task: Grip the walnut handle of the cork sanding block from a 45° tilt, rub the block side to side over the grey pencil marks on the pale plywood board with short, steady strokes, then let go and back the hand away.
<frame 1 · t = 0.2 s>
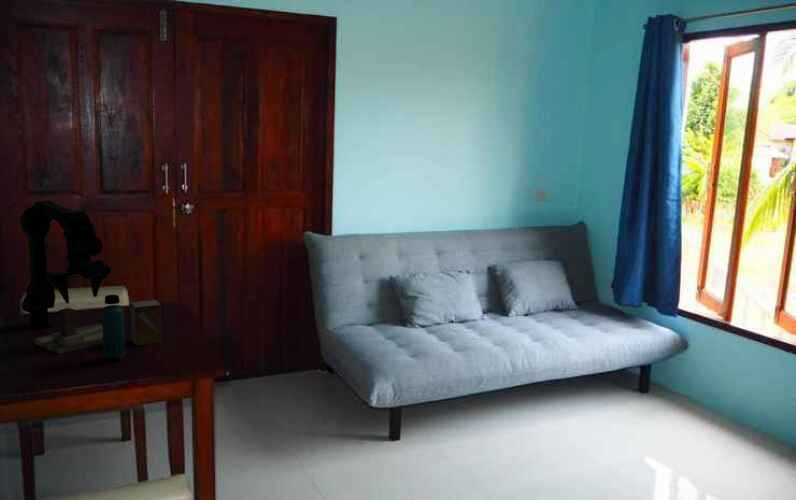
hand: (81, 300, 219), 15 cm above the table, tool pointing down, fingers open, 9 cm apart
board: (79, 340, 226), on the table
small box: (146, 342, 227), on the table
sanding block: (68, 342, 218), point 2 cm above the table, touching board
beverage bottle: (114, 360, 210), on the table
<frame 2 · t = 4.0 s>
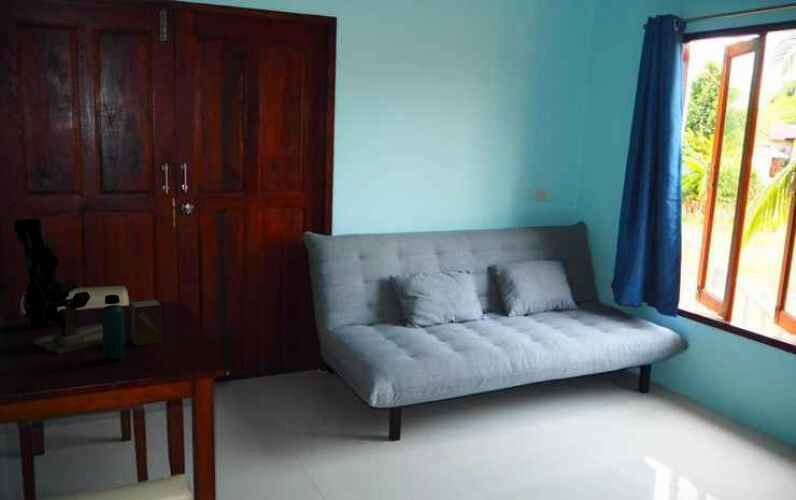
hand: (70, 326, 217), 7 cm above the table, tool tilted 45°, fingers closed on sanding block, 3 cm apart
sanding block: (68, 342, 218), point 2 cm above the table, touching board, gripper
everything else where it was.
when the fingers open (8 cm above the table, at t = 11.6 s): sanding block stays where it is, resting on board.
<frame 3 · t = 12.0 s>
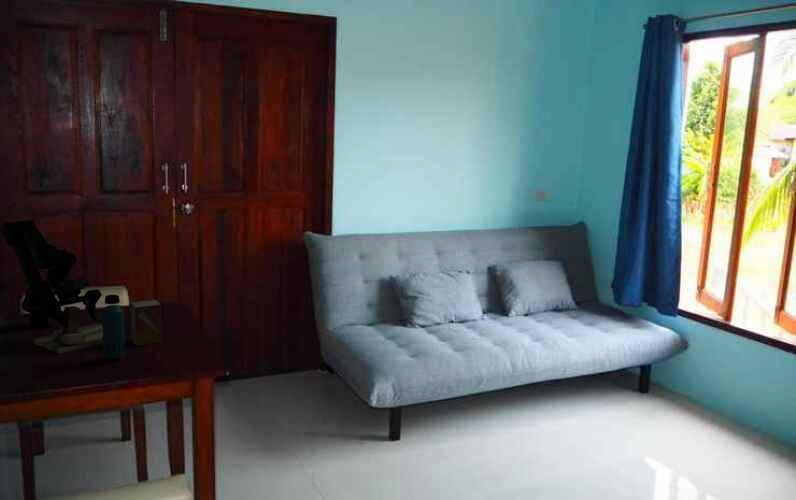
hand: (82, 323, 220), 7 cm above the table, tool tilted 45°, fingers open, 9 cm apart
sanding block: (69, 341, 219), point 2 cm above the table, tilted 7°, touching board, gripper
everything else where it was.
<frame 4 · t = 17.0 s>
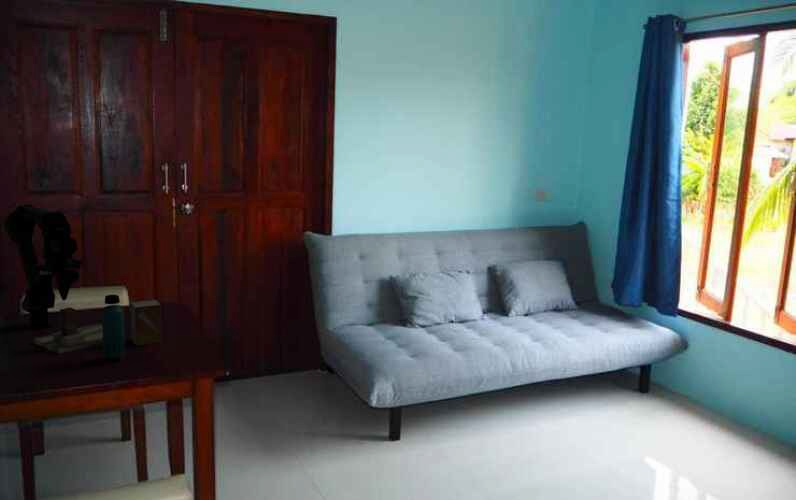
hand: (56, 297, 227), 13 cm above the table, tool pointing down, fingers open, 9 cm apart
sanding block: (69, 342, 219), point 2 cm above the table, touching board
everything else where it was.
at the end: sanding block inside the target area on the board (5.2 cm from its centre), point 1.5 cm above the board's base; sanding block tilted 0°; the gripper is holding nothing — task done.
